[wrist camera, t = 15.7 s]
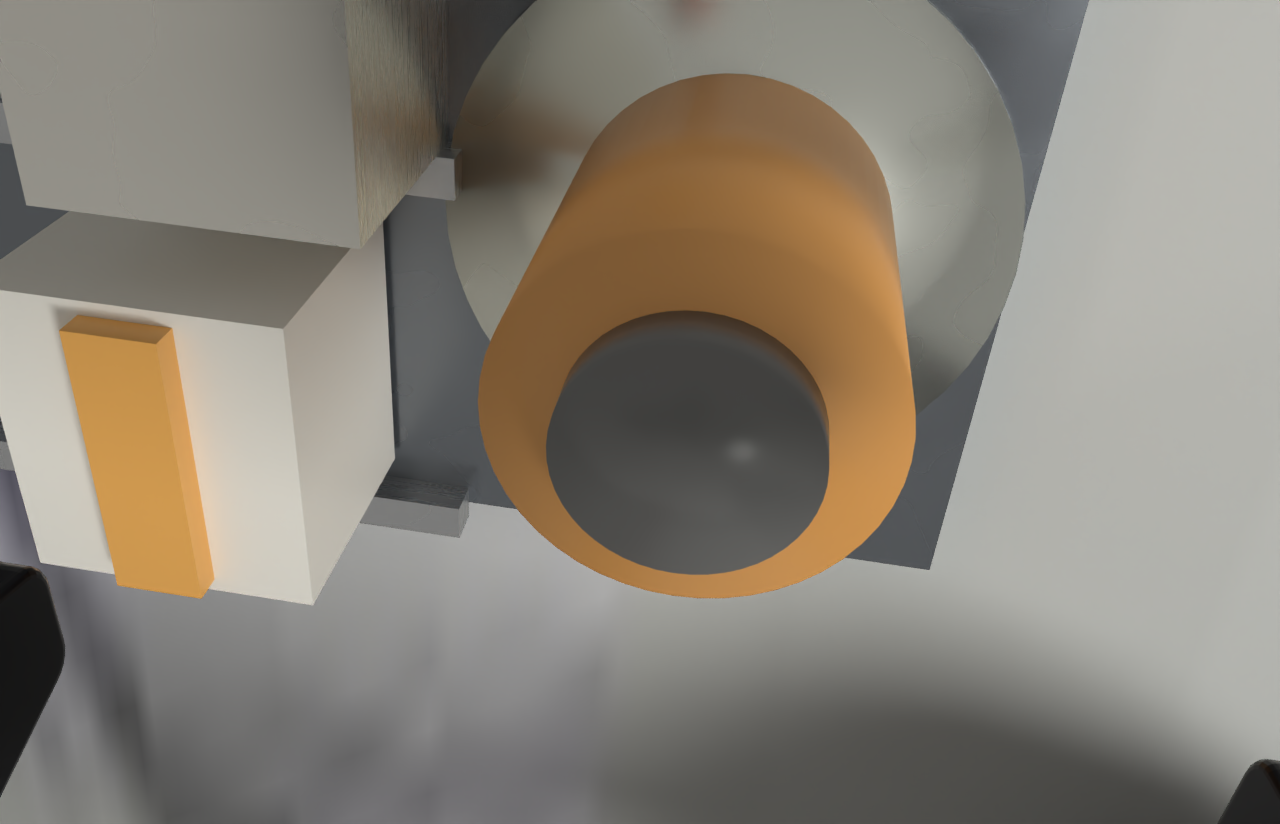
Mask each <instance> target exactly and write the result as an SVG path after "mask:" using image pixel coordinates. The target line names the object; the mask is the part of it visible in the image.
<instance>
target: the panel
mask: <svg viewBox="0 0 1280 824" xmlns="http://www.w3.org/2000/svg"><path fill="white" fill-rule="evenodd" d="M1088 2H1089V0H0V259H2V258H3V257H5V256H6V255H8V254H9V253H10V252H12V251H13V250H15V249H16V248H18V247H19V246H20V245H22V244H23V243H25V242H26V241H28V240H29V239H30V238H32V237H33V236H35V235H36V234H38V233H39V232H40V231H42V230H43V229H45V228H46V227H48V226H49V225H50V224H52V223H53V222H55V221H56V220H58V219H59V218H60V217H62V216H63V215H65V214H66V213H67V212H69V211H74V212H81V213H89V214H97V215H104V216H112V217H119V218H127V219H135V220H142V221H150V222H157V223H165V224H173V225H180V226H188V227H195V228H203V229H211V230H218V231H226V232H233V233H241V234H249V235H256V236H264V237H271V238H279V239H287V240H294V241H302V242H309V243H317V244H325V245H332V246H340V247H347V248H355V249H361V248H362V247H363V245H364V244H365V243H366V242H367V240H368V239H369V238H370V237H371V236H372V234H373V233H374V232H375V231H376V230H377V228H378V227H379V226H380V225H381V223H382V222H383V234H384V254H385V273H386V293H387V312H388V332H389V351H390V371H391V391H392V410H393V430H394V449H395V459H394V461H393V463H392V465H391V467H390V468H389V470H388V472H387V474H386V475H385V477H384V479H383V481H382V483H381V484H380V486H379V488H378V490H377V492H376V493H375V495H374V497H373V499H372V501H371V502H370V504H369V506H368V508H367V510H366V511H365V513H364V515H363V517H362V518H361V520H360V522H359V523H365V524H371V525H378V526H385V527H391V528H398V529H405V530H411V531H418V532H425V533H431V534H438V535H445V536H451V537H458V538H460V535H461V533H462V531H463V528H464V526H465V524H466V521H467V519H468V517H469V502H473V503H480V504H487V505H493V506H500V507H507V508H514V509H517V508H516V506H515V505H514V504H513V502H512V501H511V500H510V498H509V497H508V495H507V494H506V493H505V491H504V489H503V487H502V485H501V484H500V482H499V480H498V478H497V476H496V474H495V473H494V471H493V468H492V466H491V463H490V460H489V458H488V455H487V453H486V450H485V446H484V442H483V438H482V433H481V429H480V423H479V410H478V393H479V379H480V374H481V370H482V366H483V361H484V357H485V354H486V351H487V349H488V346H489V344H490V341H491V339H492V336H493V334H494V332H495V330H496V328H497V326H498V324H499V322H500V320H501V318H502V316H503V314H504V312H505V310H506V308H507V306H508V305H509V303H510V301H511V299H512V297H513V295H514V293H515V291H516V289H517V287H518V285H519V283H520V281H521V279H522V277H523V275H524V273H525V271H526V270H527V268H528V266H529V264H530V262H531V260H532V258H533V256H534V254H535V252H536V250H537V248H538V246H539V244H540V242H541V240H542V238H543V237H544V235H545V233H546V231H547V229H548V227H549V225H550V223H551V221H552V219H553V217H554V215H555V213H556V211H557V209H558V207H559V205H560V204H561V202H562V200H563V198H564V196H565V194H566V192H567V190H568V188H569V186H570V184H571V182H572V180H573V178H574V176H575V174H576V172H577V171H578V169H579V167H580V165H581V163H582V161H583V159H584V157H585V155H586V154H587V152H588V150H589V149H590V147H591V145H592V144H593V142H594V140H595V139H596V138H597V137H598V135H599V134H600V133H601V132H602V130H603V129H604V128H605V127H606V125H607V124H608V123H609V122H610V121H612V120H613V119H614V118H615V117H616V116H617V115H618V114H619V113H620V112H621V111H622V110H623V109H625V108H626V107H628V106H629V105H630V104H632V103H633V102H635V101H636V100H637V99H639V98H640V97H642V96H644V95H646V94H648V93H650V92H652V91H654V90H656V89H658V88H660V87H662V86H665V85H668V84H671V83H673V82H676V81H679V80H682V79H687V78H692V77H696V76H701V75H710V74H722V73H730V74H749V75H754V76H760V77H765V78H771V79H774V80H777V81H780V82H783V83H786V84H789V85H792V86H794V87H797V88H799V89H801V90H803V91H805V92H807V93H809V94H811V95H813V96H815V97H816V98H818V99H819V100H821V101H822V102H824V103H826V104H827V105H829V106H830V107H832V108H833V109H834V110H835V111H836V112H837V113H839V114H840V115H841V116H842V117H843V118H844V119H846V120H847V121H848V122H849V123H850V124H851V125H852V127H853V128H854V129H855V130H856V131H857V132H858V133H859V135H860V136H861V137H862V138H863V139H864V141H865V142H866V144H867V145H868V147H869V148H870V150H871V152H872V153H873V155H874V156H875V158H876V160H877V162H878V164H879V167H880V169H881V171H882V173H883V175H884V178H885V181H886V185H887V188H888V191H889V195H890V200H891V207H892V213H893V221H894V230H895V239H896V247H897V256H898V264H899V273H900V282H901V290H902V299H903V308H904V316H905V325H906V334H907V342H908V351H909V360H910V368H911V377H912V386H913V394H914V403H915V412H916V439H915V445H914V451H913V457H912V463H911V466H910V469H909V472H908V475H907V478H906V481H905V484H904V486H903V488H902V490H901V492H900V494H899V496H898V498H897V500H896V502H895V504H894V506H893V507H892V509H891V510H890V511H889V513H888V514H887V516H886V517H885V518H884V520H883V521H882V523H881V524H880V525H879V527H878V528H877V529H876V530H875V531H874V532H873V533H872V534H871V535H870V536H869V537H868V538H867V539H866V540H865V541H864V542H863V543H862V544H861V545H860V546H859V547H857V548H856V549H855V550H854V551H852V552H851V553H850V554H849V555H847V556H846V557H845V558H852V559H859V560H866V561H872V562H879V563H886V564H893V565H899V566H906V567H913V568H920V569H927V570H929V569H930V566H931V562H932V559H933V555H934V552H935V548H936V544H937V541H938V537H939V534H940V530H941V527H942V523H943V519H944V516H945V512H946V509H947V505H948V502H949V498H950V494H951V491H952V487H953V484H954V480H955V477H956V473H957V469H958V466H959V462H960V459H961V455H962V452H963V448H964V444H965V441H966V437H967V434H968V430H969V427H970V423H971V419H972V416H973V412H974V409H975V405H976V402H977V398H978V394H979V391H980V387H981V384H982V380H983V377H984V373H985V369H986V366H987V362H988V359H989V355H990V352H991V348H992V344H993V341H994V337H995V334H996V330H997V327H998V323H999V319H1000V316H1001V312H1002V310H1003V308H1004V306H1005V303H1006V300H1007V297H1008V295H1009V292H1010V289H1011V286H1012V284H1013V281H1014V278H1015V275H1016V271H1017V266H1018V262H1019V257H1020V252H1021V247H1022V242H1023V234H1024V230H1025V227H1026V223H1027V219H1028V216H1029V212H1030V209H1031V205H1032V202H1033V198H1034V194H1035V191H1036V187H1037V184H1038V180H1039V177H1040V173H1041V169H1042V166H1043V162H1044V159H1045V155H1046V152H1047V148H1048V144H1049V141H1050V137H1051V134H1052V130H1053V127H1054V123H1055V119H1056V116H1057V112H1058V109H1059V105H1060V102H1061V98H1062V94H1063V91H1064V87H1065V84H1066V80H1067V77H1068V73H1069V69H1070V66H1071V62H1072V59H1073V55H1074V52H1075V48H1076V44H1077V41H1078V37H1079V34H1080V30H1081V27H1082V23H1083V19H1084V16H1085V12H1086V9H1087V5H1088ZM0 469H5V470H12V471H15V468H14V465H13V461H12V457H11V454H10V450H9V446H8V443H7V439H6V436H5V432H4V428H3V425H2V421H1V417H0Z"/></svg>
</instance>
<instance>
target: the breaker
mask: <svg viewBox="0 0 1280 824" xmlns="http://www.w3.org/2000/svg"><path fill="white" fill-rule="evenodd" d="M0 417H1V421H2V425H3V428H4V432H5V436H6V439H7V443H8V446H9V450H10V454H11V457H12V461H13V465H14V468H15V472H16V476H17V479H18V483H19V486H20V490H21V494H22V497H23V501H24V505H25V508H26V512H27V515H28V519H29V523H30V526H31V530H32V534H33V537H34V541H35V545H36V548H37V552H38V555H39V559H40V563H46V564H52V565H58V566H65V567H71V568H78V569H84V570H90V571H97V572H103V573H110V574H115V577H116V581H117V585H118V586H124V587H130V588H137V589H143V590H149V591H156V592H162V593H168V594H175V595H181V596H188V597H194V598H200V599H202V597H203V596H204V594H205V593H206V591H207V590H208V589H212V590H218V591H225V592H231V593H237V594H244V595H250V596H257V597H263V598H269V599H276V600H282V601H289V602H295V603H301V604H308V605H314V603H315V601H316V599H317V597H318V596H319V594H320V592H321V590H322V588H323V587H324V585H325V583H326V581H327V579H328V578H329V576H330V574H331V572H332V570H333V569H334V567H335V565H336V563H337V562H338V560H339V558H340V556H341V554H342V553H343V551H344V549H345V547H346V545H347V544H348V542H349V540H350V538H351V536H352V535H353V533H354V531H355V529H356V527H357V526H358V524H359V522H360V520H361V518H362V517H363V515H364V513H365V511H366V510H367V508H368V506H369V504H370V502H371V501H372V499H373V497H374V495H375V493H376V492H377V490H378V488H379V486H380V484H381V483H382V481H383V479H384V477H385V475H386V474H387V472H388V470H389V468H390V467H391V465H392V463H393V461H394V459H395V449H394V430H393V410H392V391H391V371H390V351H389V332H388V312H387V293H386V273H385V254H384V234H383V222H382V223H381V225H380V226H379V227H378V228H377V230H376V231H375V232H374V233H373V234H372V236H371V237H370V238H369V239H368V240H367V242H366V243H365V244H364V245H363V247H362V248H361V249H355V248H347V247H340V246H332V245H325V244H317V243H309V242H302V241H294V240H287V239H279V238H271V237H264V236H256V235H249V234H241V233H233V232H226V231H218V230H211V229H203V228H195V227H188V226H180V225H173V224H165V223H157V222H150V221H142V220H135V219H127V218H119V217H112V216H104V215H97V214H89V213H81V212H74V211H69V212H67V213H66V214H65V215H63V216H62V217H60V218H59V219H58V220H56V221H55V222H53V223H52V224H50V225H49V226H48V227H46V228H45V229H43V230H42V231H40V232H39V233H38V234H36V235H35V236H33V237H32V238H30V239H29V240H28V241H26V242H25V243H23V244H22V245H20V246H19V247H18V248H16V249H15V250H13V251H12V252H10V253H9V254H8V255H6V256H5V257H3V258H2V259H0Z"/></svg>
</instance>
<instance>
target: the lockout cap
mask: <svg viewBox="0 0 1280 824" xmlns="http://www.w3.org/2000/svg"><path fill="white" fill-rule="evenodd" d="M478 410H479V423H480V429H481V433H482V438H483V442H484V446H485V450H486V453H487V455H488V458H489V460H490V463H491V466H492V468H493V471H494V473H495V474H496V476H497V478H498V480H499V482H500V484H501V485H502V487H503V489H504V491H505V493H506V494H507V495H508V497H509V498H510V500H511V501H512V502H513V504H514V505H515V506H516V508H517V509H518V511H519V512H520V513H521V514H522V515H523V516H524V517H525V518H526V520H527V521H528V522H529V523H530V524H531V525H532V526H533V527H534V528H535V529H536V530H537V531H538V532H539V533H540V534H541V535H543V536H544V537H545V538H546V539H547V540H548V541H549V542H551V543H552V544H553V545H554V546H555V547H557V548H558V549H560V550H561V551H563V552H564V553H566V554H567V555H568V556H570V557H571V558H573V559H574V560H576V561H577V562H579V563H581V564H583V565H585V566H587V567H588V568H590V569H592V570H594V571H596V572H598V573H600V574H602V575H605V576H607V577H609V578H612V579H614V580H617V581H619V582H621V583H624V584H628V585H631V586H634V587H637V588H641V589H644V590H647V591H652V592H657V593H662V594H667V595H672V596H682V597H692V598H730V597H740V596H749V595H754V594H759V593H764V592H769V591H773V590H777V589H780V588H783V587H786V586H789V585H792V584H795V583H799V582H801V581H803V580H805V579H807V578H810V577H812V576H814V575H816V574H818V573H821V572H823V571H824V570H826V569H827V568H829V567H831V566H832V565H834V564H836V563H837V562H839V561H841V560H842V559H844V558H845V557H846V556H847V555H849V554H850V553H851V552H852V551H854V550H855V549H856V548H857V547H859V546H860V545H861V544H862V543H863V542H864V541H865V540H866V539H867V538H868V537H869V536H870V535H871V534H872V533H873V532H874V531H875V530H876V529H877V528H878V527H879V525H880V524H881V523H882V521H883V520H884V518H885V517H886V516H887V514H888V513H889V511H890V510H891V509H892V507H893V506H894V504H895V502H896V500H897V498H898V496H899V494H900V492H901V490H902V488H903V486H904V484H905V481H906V478H907V475H908V472H909V469H910V466H911V463H912V457H913V451H914V445H915V439H916V412H915V403H914V394H913V386H912V377H911V368H910V360H909V351H908V342H907V334H906V325H905V316H904V308H903V299H902V290H901V282H900V273H899V264H898V256H897V247H896V239H895V230H894V221H893V213H892V207H891V200H890V195H889V191H888V188H887V185H886V181H885V178H884V175H883V173H882V171H881V169H880V167H879V164H878V162H877V160H876V158H875V156H874V155H873V153H872V152H871V150H870V148H869V147H868V145H867V144H866V142H865V141H864V139H863V138H862V137H861V136H860V135H859V133H858V132H857V131H856V130H855V129H854V128H853V127H852V125H851V124H850V123H849V122H848V121H847V120H846V119H844V118H843V117H842V116H841V115H840V114H839V113H837V112H836V111H835V110H834V109H833V108H832V107H830V106H829V105H827V104H826V103H824V102H822V101H821V100H819V99H818V98H816V97H815V96H813V95H811V94H809V93H807V92H805V91H803V90H801V89H799V88H797V87H794V86H792V85H789V84H786V83H783V82H780V81H777V80H774V79H771V78H765V77H760V76H754V75H749V74H730V73H722V74H710V75H701V76H696V77H692V78H687V79H682V80H679V81H676V82H673V83H671V84H668V85H665V86H662V87H660V88H658V89H656V90H654V91H652V92H650V93H648V94H646V95H644V96H642V97H640V98H639V99H637V100H636V101H635V102H633V103H632V104H630V105H629V106H628V107H626V108H625V109H623V110H622V111H621V112H620V113H619V114H618V115H617V116H616V117H615V118H614V119H613V120H612V121H610V122H609V123H608V124H607V125H606V127H605V128H604V129H603V130H602V132H601V133H600V134H599V135H598V137H597V138H596V139H595V140H594V142H593V144H592V145H591V147H590V149H589V150H588V152H587V154H586V155H585V157H584V159H583V161H582V163H581V165H580V167H579V169H578V171H577V172H576V174H575V176H574V178H573V180H572V182H571V184H570V186H569V188H568V190H567V192H566V194H565V196H564V198H563V200H562V202H561V204H560V205H559V207H558V209H557V211H556V213H555V215H554V217H553V219H552V221H551V223H550V225H549V227H548V229H547V231H546V233H545V235H544V237H543V238H542V240H541V242H540V244H539V246H538V248H537V250H536V252H535V254H534V256H533V258H532V260H531V262H530V264H529V266H528V268H527V270H526V271H525V273H524V275H523V277H522V279H521V281H520V283H519V285H518V287H517V289H516V291H515V293H514V295H513V297H512V299H511V301H510V303H509V305H508V306H507V308H506V310H505V312H504V314H503V316H502V318H501V320H500V322H499V324H498V326H497V328H496V330H495V332H494V334H493V336H492V339H491V341H490V344H489V346H488V349H487V351H486V354H485V357H484V361H483V366H482V370H481V374H480V379H479V393H478Z"/></svg>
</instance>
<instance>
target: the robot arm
mask: <svg viewBox="0 0 1280 824" xmlns="http://www.w3.org/2000/svg"><path fill="white" fill-rule="evenodd" d="M64 658H65V643H64V638H63V634H62V631H61V627H60V624H59V620H58V616H57V613H56V609H55V605H54V602H53V598H52V595H51V591H50V587H49V584H48V581H47V579H46V577H45V576H44V575H43V573H42V572H41V571H40V570H39V569H36V568H34V567H31V566H25V565H18V564H12V563H5V562H0V797H1V795H2V793H3V791H4V789H5V787H6V784H7V782H8V780H9V778H10V776H11V774H12V772H13V770H14V768H15V766H16V764H17V762H18V760H19V758H20V756H21V754H22V752H23V750H24V748H25V746H26V744H27V742H28V740H29V738H30V736H31V734H32V732H33V730H34V727H35V725H36V723H37V721H38V719H39V717H40V715H41V713H42V711H43V709H44V707H45V705H46V703H47V701H48V699H49V697H50V695H51V693H52V691H53V689H54V687H55V685H56V683H57V681H58V679H59V676H60V674H61V671H62V668H63V664H64ZM1217 824H1280V761H1276V760H1269V759H1263V760H1259V761H1257V762H1255V763H1254V764H1252V765H1251V766H1250V767H1249V769H1248V770H1247V771H1246V773H1245V775H1244V776H1243V778H1242V780H1241V782H1240V784H1239V785H1238V787H1237V789H1236V791H1235V793H1234V794H1233V796H1232V798H1231V800H1230V802H1229V803H1228V805H1227V807H1226V809H1225V811H1224V813H1223V814H1222V816H1221V818H1220V820H1219V822H1218V823H1217Z"/></svg>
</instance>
